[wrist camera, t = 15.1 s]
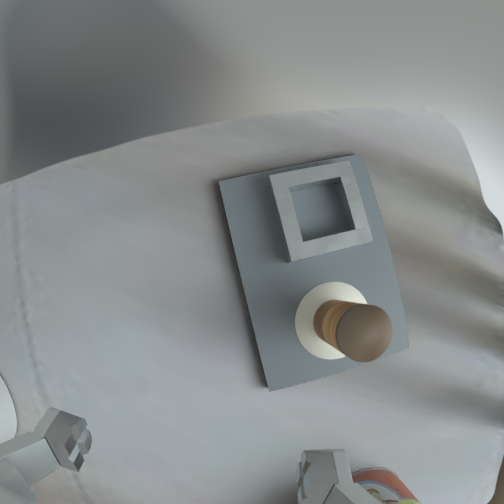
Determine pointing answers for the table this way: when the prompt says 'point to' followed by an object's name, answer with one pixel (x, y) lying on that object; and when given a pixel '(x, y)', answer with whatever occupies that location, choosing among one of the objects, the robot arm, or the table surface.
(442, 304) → the table surface
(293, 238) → the collar
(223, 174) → the table surface
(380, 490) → the canned food
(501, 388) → the table surface
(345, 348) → the plug
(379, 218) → the base plate
